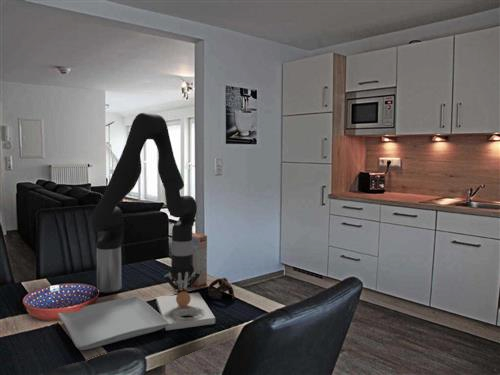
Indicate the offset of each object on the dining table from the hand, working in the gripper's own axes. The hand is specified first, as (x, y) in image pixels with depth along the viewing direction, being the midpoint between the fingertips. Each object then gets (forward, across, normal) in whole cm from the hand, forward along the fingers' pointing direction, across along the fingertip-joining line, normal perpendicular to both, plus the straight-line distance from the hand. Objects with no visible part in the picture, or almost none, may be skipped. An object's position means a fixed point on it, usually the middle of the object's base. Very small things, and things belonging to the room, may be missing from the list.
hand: (181, 299), depth 143 cm
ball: (-2, 0, +4) cm, 4 cm away
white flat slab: (+3, 0, +5) cm, 6 cm away
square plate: (+4, +24, +9) cm, 26 cm away
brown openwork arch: (+3, -17, -6) cm, 18 cm away
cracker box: (+3, -9, -26) cm, 28 cm away
